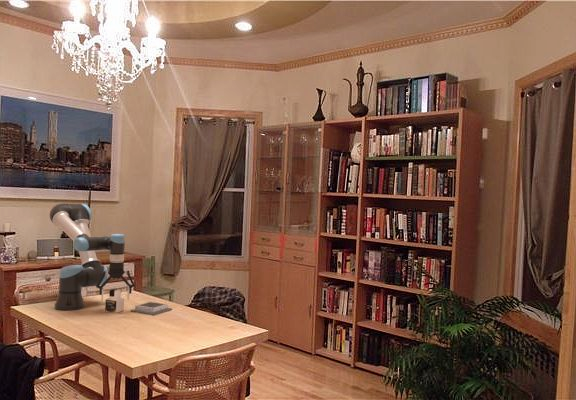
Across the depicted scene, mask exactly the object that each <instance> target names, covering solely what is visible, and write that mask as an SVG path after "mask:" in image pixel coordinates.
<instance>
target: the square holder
mask: <svg viewBox="0 0 576 400" xmlns="http://www.w3.org/2000/svg"><path fill="white" fill-rule="evenodd" d="M134 306H135V307H134V308H133V309H130V312H132V313H137V314H144V315H147V316H148V315H149V316H157V315H160V314H163V313H166V312H169V311H172V310H173V308H171V307H169V304H168V303H164V302H156V301H147V302H143V303H140V304H139V303H138V304H136V305H134Z"/></svg>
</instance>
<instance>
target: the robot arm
mask: <svg viewBox="0 0 576 400" xmlns="http://www.w3.org/2000/svg"><path fill="white" fill-rule="evenodd" d="M49 219H50V220H49V221H51V223H53V225H54V226H56V227H59V228H60V229H61V230H62V232H63V233H65V234H66V236H68V237H69V238H70V239H71V240H72V241H73V247H74V250H75V251H76V252H78V254H79V256H80V261H81V264H72V265H71V264H70V265H66V266H63V267H61V268H60V270H59V275H58V276H59V282H58V284H59V285H58V295H57V298H56V300H55V303H54V309H55V310H58V311H75V310H80V309H84V307H85V301H84V298H83V294H82V291H83V290H82V289H83V288H89V287H96V289H98V290H99V296H101V302H103V301H104V287H105V286H106V284H108V283H109V282H110V280H111V279H113V280H116V279H117V280H118V279H121V280H123V282H124V283H125V284H126V285H127V286H128V287H127V301H130V295H131V294H132V288H135V287H136V284H135V282H134V280H133V279H132V275H131V273H130V270H129V269H127V270H124V269H125V263H124V261H125V246H126V245H125V244H126V239H125V237H126V236H125V235H124V234H123V233H112V234H110V236H108V235H106V236H105V235H101V236H92V235H91V232H90V229H89V223H90V221H91V219H92V211H91V209H90V207H89V206H88V205H87V204H84V203H57V204H56V205H54V206H53V207H52V208H51V209H50V212H49ZM96 251H109V265H108V267H109V269H108V267H107V266H106V265H103V264H102V261H101V260H100V259H98V257H97V254H96ZM124 274H125V275H127V277H128V279H129V281H128V280H127V279H126V278H125V277H124ZM108 275H109V276H108ZM129 282H130V283H129Z"/></svg>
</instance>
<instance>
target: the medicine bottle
mask: <svg viewBox="0 0 576 400" xmlns="http://www.w3.org/2000/svg"><path fill="white" fill-rule="evenodd" d="M104 303H105V306H104V308H105V309H104V312H106V313H111V314H118V313H119V312H123V311H124V309H125V298H124V297H122V290H121V289H118V288H113V289H110V290H109V295H108V298H105V302H104Z"/></svg>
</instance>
